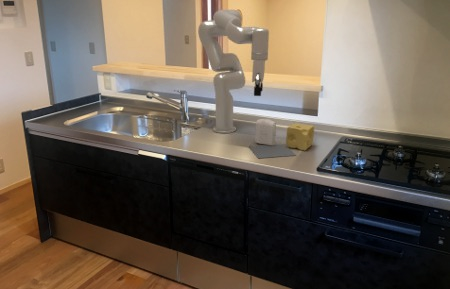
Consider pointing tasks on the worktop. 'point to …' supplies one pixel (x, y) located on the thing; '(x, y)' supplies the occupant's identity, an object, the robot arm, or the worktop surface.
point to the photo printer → (265, 132)
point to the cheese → (299, 136)
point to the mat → (271, 151)
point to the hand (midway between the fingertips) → (258, 93)
